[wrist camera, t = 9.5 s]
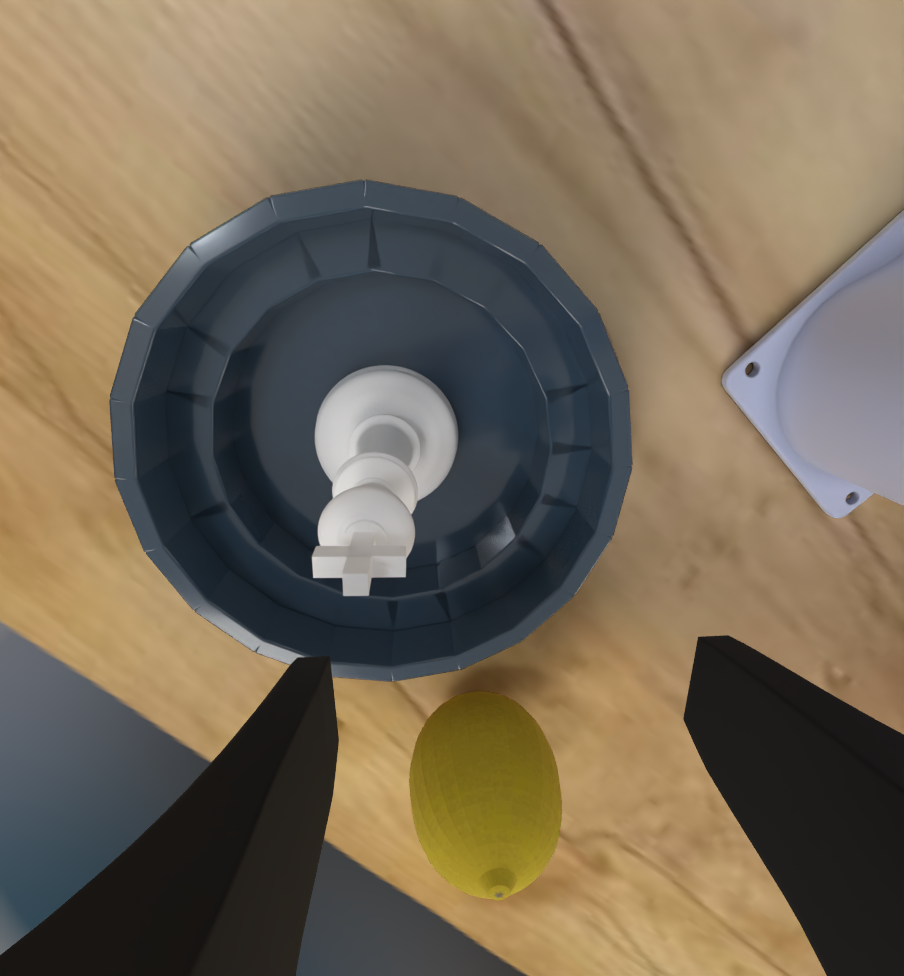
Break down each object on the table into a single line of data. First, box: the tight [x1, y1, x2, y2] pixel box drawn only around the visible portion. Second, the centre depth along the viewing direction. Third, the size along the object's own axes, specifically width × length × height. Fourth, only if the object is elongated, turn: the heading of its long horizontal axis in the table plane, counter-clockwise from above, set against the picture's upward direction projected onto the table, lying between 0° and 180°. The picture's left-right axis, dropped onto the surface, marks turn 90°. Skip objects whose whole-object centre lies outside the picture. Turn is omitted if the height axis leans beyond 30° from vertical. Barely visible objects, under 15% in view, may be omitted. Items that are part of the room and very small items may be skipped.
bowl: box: [109, 179, 632, 682], centre depth 17 cm, size 14×14×5 cm
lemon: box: [409, 691, 562, 900], centre depth 20 cm, size 6×6×8 cm
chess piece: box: [312, 365, 458, 596], centre depth 14 cm, size 5×5×10 cm
